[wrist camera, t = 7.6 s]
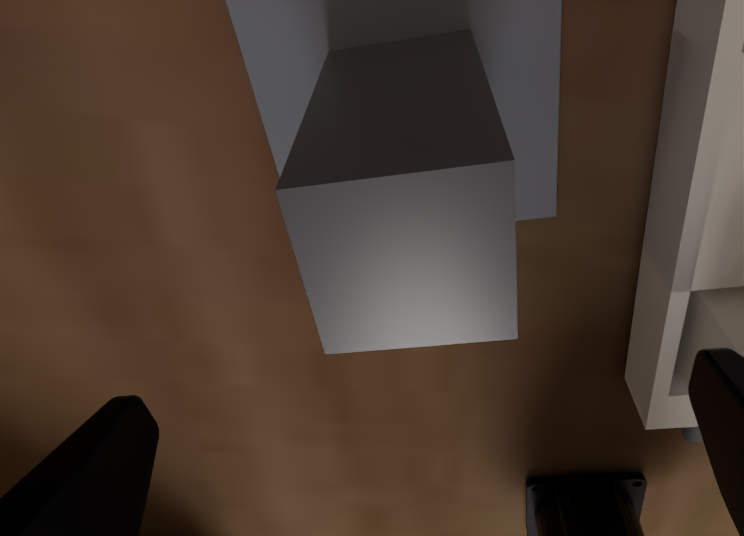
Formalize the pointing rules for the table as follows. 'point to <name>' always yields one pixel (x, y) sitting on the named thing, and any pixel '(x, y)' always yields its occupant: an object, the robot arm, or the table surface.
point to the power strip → (690, 203)
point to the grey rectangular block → (404, 199)
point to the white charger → (711, 325)
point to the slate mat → (404, 21)
